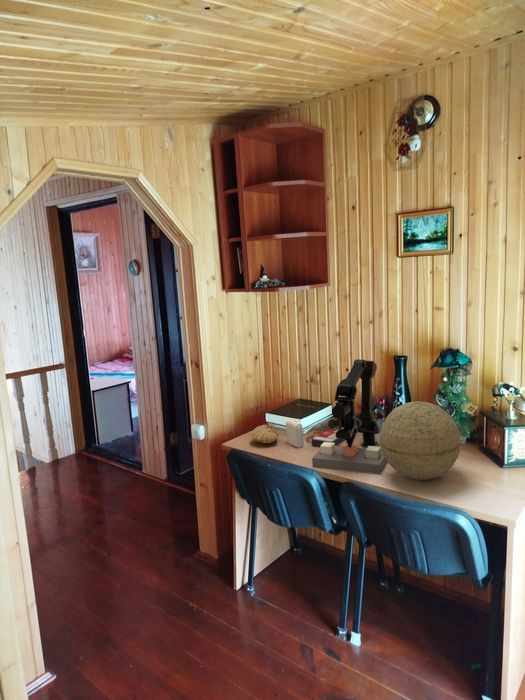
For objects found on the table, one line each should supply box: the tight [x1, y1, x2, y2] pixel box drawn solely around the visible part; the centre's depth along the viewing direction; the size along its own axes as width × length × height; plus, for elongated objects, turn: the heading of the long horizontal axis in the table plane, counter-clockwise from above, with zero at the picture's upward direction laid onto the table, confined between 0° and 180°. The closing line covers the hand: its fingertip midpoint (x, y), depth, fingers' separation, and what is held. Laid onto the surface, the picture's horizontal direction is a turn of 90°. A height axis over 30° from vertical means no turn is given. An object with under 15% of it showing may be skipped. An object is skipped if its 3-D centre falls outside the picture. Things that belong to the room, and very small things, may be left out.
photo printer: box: [285, 418, 305, 448], centre depth 248 cm, size 10×4×12 cm, turn 29°
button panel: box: [311, 445, 388, 475], centre depth 221 cm, size 16×29×4 cm, turn 64°
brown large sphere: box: [379, 401, 462, 481], centre depth 200 cm, size 30×30×30 cm
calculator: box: [311, 430, 346, 448], centre depth 248 cm, size 11×4×15 cm
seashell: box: [250, 422, 280, 444], centre depth 257 cm, size 8×22×15 cm
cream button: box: [319, 442, 335, 455], centre depth 225 cm, size 5×5×5 cm
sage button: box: [366, 445, 381, 460], centre depth 216 cm, size 5×5×5 cm
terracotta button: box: [343, 444, 358, 457], centre depth 221 cm, size 5×5×5 cm
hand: (350, 447), depth 220 cm, fingers closed, pressing on terracotta button
